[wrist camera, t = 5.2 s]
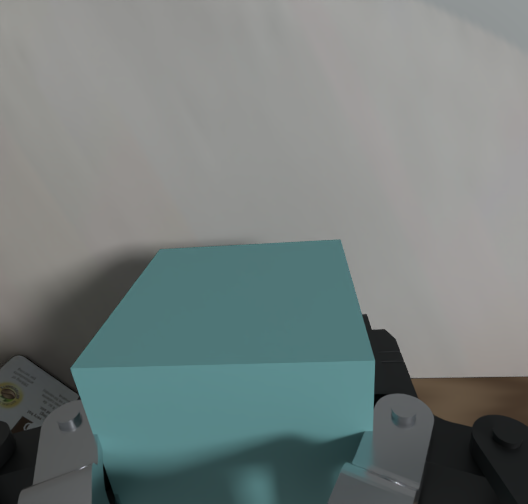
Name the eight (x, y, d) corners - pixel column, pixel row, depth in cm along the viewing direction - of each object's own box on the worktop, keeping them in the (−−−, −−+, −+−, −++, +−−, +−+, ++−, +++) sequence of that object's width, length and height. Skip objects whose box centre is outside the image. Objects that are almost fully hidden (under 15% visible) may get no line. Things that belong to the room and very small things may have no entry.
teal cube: (188, 387, 16) (134, 552, 10) (160, 249, 14) (70, 368, 8) (341, 384, 15) (368, 557, 10) (340, 239, 13) (374, 360, 8)
